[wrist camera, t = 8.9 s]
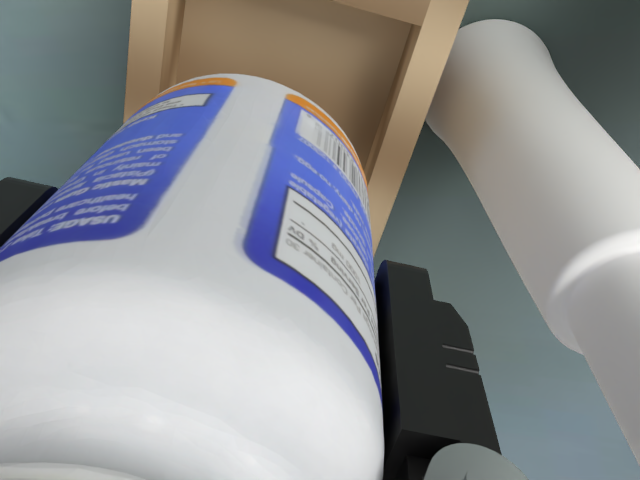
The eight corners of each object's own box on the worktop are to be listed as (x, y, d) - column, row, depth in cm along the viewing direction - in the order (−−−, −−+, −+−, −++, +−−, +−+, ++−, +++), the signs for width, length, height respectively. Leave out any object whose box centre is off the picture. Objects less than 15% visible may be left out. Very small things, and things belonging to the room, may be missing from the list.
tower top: (188, -100, 19) (138, -98, 14) (444, -24, 19) (469, -1, 15) (161, 145, 23) (117, 201, 19) (368, 198, 24) (371, 263, 20)
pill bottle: (117, 264, 13) (-265, 859, 5) (124, 35, 11) (-698, 540, 2) (337, 310, 14) (312, 931, 6) (401, 101, 11) (547, 735, 3)
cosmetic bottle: (476, 171, 28) (721, 719, 9) (391, 91, 26) (487, 578, 7) (579, 82, 26) (1196, 591, 7) (493, -13, 24) (1023, 329, 5)
